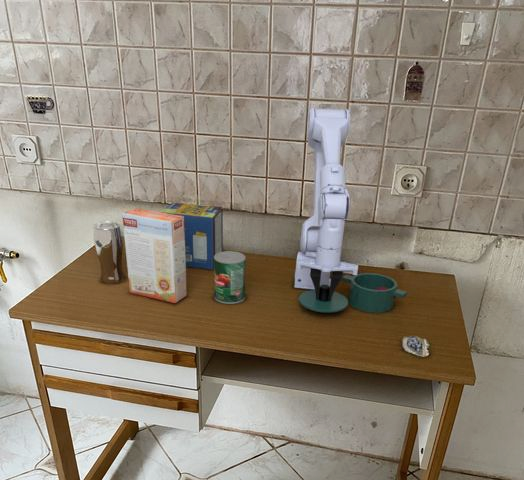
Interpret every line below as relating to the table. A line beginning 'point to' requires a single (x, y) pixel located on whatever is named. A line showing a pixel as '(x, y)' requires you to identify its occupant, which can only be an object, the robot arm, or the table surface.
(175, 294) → the cracker box
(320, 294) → the lid
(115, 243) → the beer glass
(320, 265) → the robot arm
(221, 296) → the canned tomato
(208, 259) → the protein box
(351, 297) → the pot
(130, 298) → the table surface
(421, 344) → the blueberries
